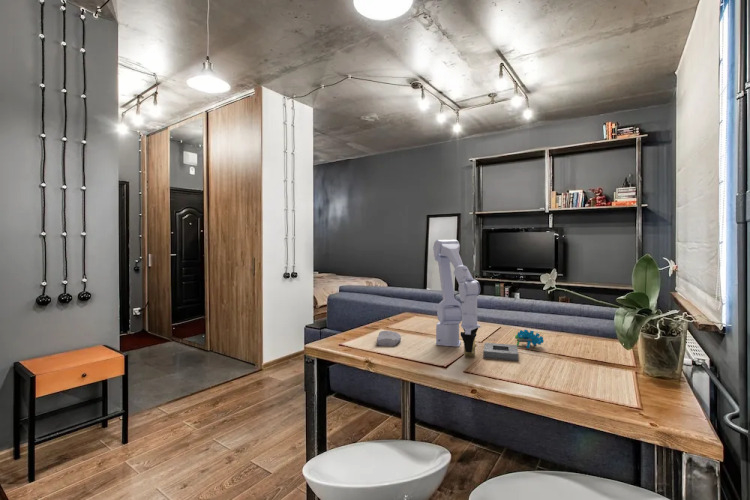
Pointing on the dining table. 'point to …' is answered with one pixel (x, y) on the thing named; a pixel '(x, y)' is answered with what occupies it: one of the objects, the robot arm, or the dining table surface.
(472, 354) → the brass sleeve
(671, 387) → the dining table surface
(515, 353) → the block
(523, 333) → the blue toy dinosaur
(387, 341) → the stone block
